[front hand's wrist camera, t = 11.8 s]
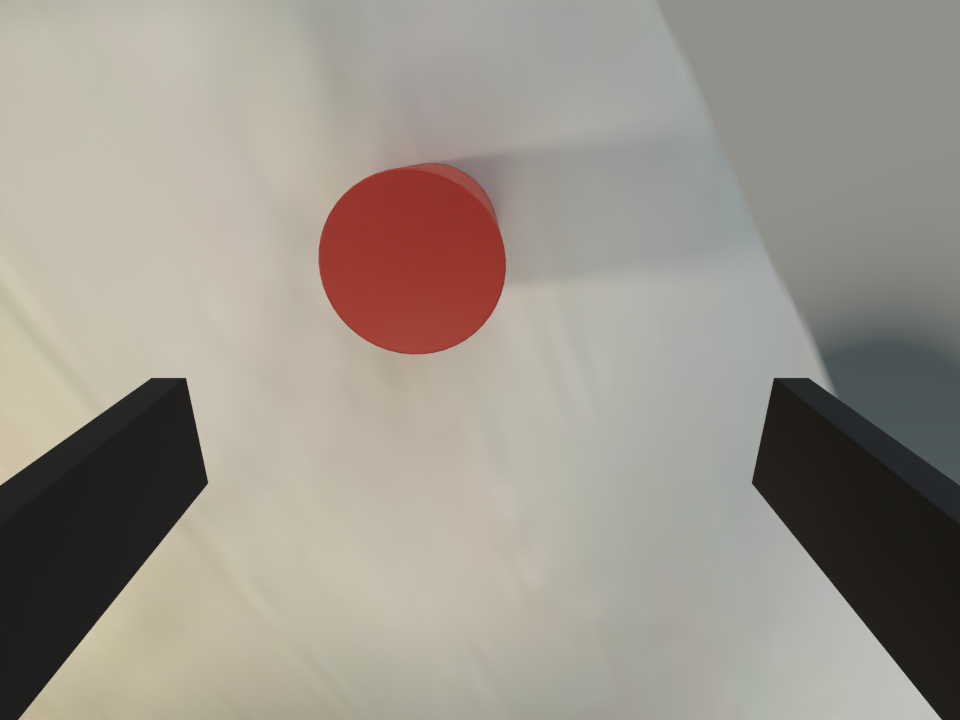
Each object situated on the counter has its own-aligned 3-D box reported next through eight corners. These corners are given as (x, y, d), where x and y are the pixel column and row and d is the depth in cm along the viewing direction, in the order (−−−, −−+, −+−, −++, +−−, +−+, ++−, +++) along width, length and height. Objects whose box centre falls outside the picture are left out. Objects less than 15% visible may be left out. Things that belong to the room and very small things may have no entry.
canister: (398, 309, 29) (363, 377, 20) (348, 190, 27) (285, 207, 18) (513, 269, 28) (529, 322, 19) (471, 143, 26) (468, 138, 17)
